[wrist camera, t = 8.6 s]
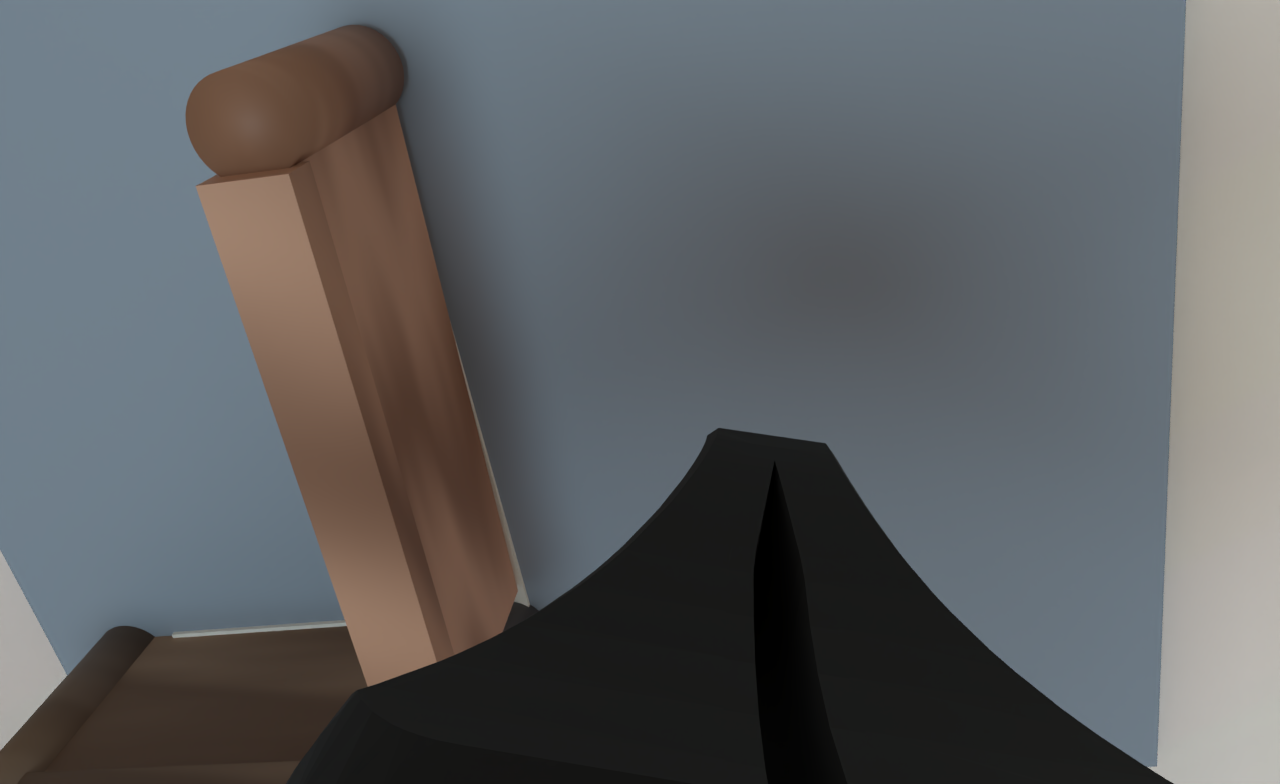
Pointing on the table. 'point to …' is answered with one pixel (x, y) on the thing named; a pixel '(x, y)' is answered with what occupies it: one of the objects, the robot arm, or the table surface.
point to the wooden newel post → (355, 341)
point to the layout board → (632, 299)
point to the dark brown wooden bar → (190, 708)
